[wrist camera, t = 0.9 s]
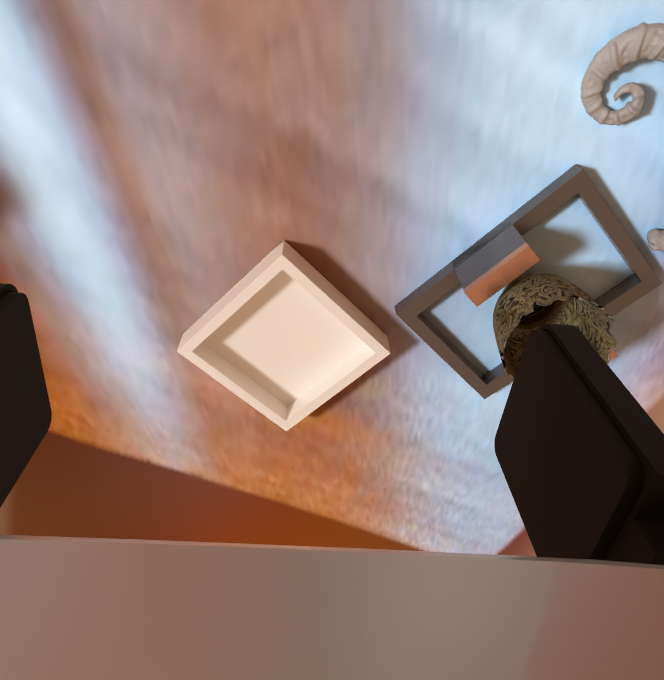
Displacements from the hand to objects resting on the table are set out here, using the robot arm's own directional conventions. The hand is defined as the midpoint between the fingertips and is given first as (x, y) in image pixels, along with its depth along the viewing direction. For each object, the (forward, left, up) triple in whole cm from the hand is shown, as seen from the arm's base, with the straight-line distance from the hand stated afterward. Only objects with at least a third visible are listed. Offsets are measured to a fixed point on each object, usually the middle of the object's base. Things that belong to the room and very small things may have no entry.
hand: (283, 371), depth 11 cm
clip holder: (-2, +22, -29) cm, 36 cm away
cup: (-2, +22, -29) cm, 36 cm away
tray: (+14, +12, -29) cm, 34 cm away
